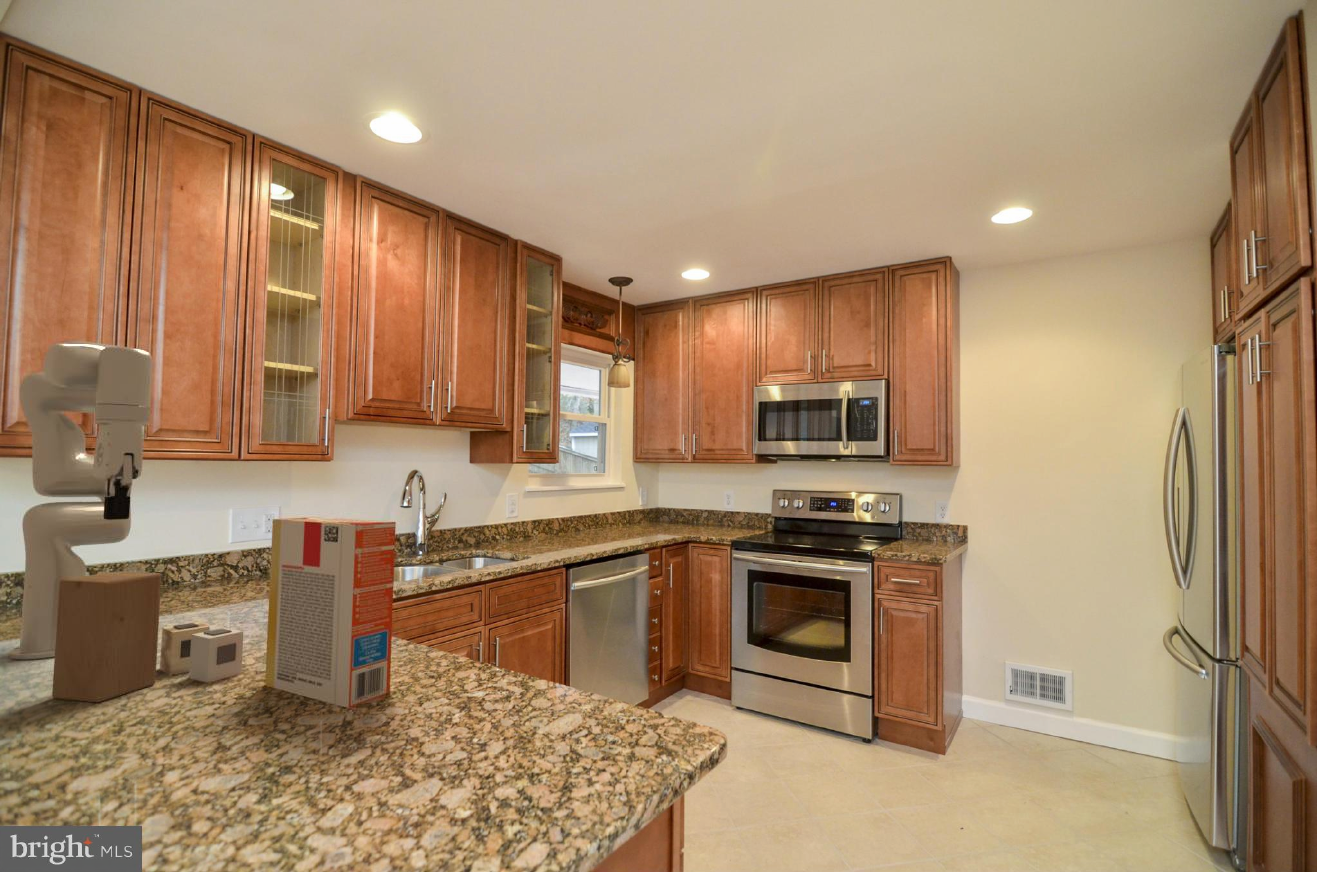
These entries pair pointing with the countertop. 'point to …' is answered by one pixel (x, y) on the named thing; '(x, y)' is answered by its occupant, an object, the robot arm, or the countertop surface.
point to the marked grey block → (216, 654)
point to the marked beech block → (178, 646)
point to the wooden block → (106, 635)
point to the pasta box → (331, 608)
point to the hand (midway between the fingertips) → (116, 518)
